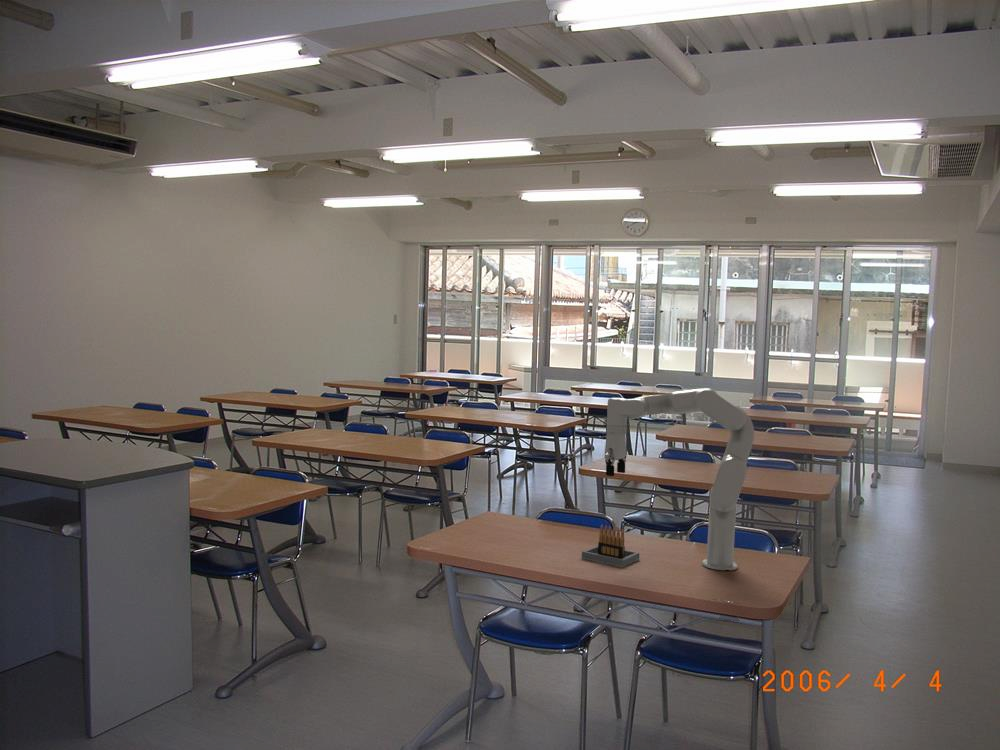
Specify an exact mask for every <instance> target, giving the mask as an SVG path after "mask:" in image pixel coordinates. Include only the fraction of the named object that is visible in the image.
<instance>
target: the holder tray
mask: <svg viewBox="0 0 1000 750" xmlns="http://www.w3.org/2000/svg"><path fill="white" fill-rule="evenodd" d="M597 553H598V545H595V546H593V547H590V548H587V549H585V550H583V551H581V559H582V558H583V560H586V559H587V561H591V560H592V561H591V562H595V561H596V563H600V562H601V563H600V564H605V563H606V565H609V564H611V565H610V566H614V565H615V566H614V567H618V566H620V567H619V568H624V567H626V565H627V566H629V565H631V564H633V563H636V562H637V561H640V552H638V551H632V550H627V549H625V558H623V559H619V558H614V557H609V556H605V555H600V554H597ZM630 563H631V564H630ZM628 564H629V565H628Z"/></svg>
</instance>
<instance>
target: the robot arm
mask: <svg viewBox="0 0 1000 750" xmlns="http://www.w3.org/2000/svg"><path fill="white" fill-rule="evenodd" d="M606 412H607V413H606V414H607V416H606V417H607V418H606V437H605V445H604V462H605V476H608V477H614V476H615V465H614V464H615V461H617V463H616V472H617V473H622V474H625V473H626V462H627V460H626V459H627V453H628V450H627V437H626V435H627V434H628V433H627V431H628V429H627V428H628V427H627V426H628V425H627V423H628V418H631V419H640V418H643V417H644V416H645V417H646V416H653V415H661V414H663V415H665V414H668V415H673V416H674V415H683V414H690V413H691V414H692V413H701V412H702V413H703V414H704V415H705V416H707V417H708V418H709V419H711V420H713V421H714V422H716V423H717V424H718V425H720V426H721V427H723V428H724V429H726V430H728V431H729V438H728V440H727V444H726V448H725V451H724V453H723V456H722V458H721V460H720V463H719V465H718V469H717V473H716V477H715V480H714V483H713V485H712V486H711V488H710V490H709V512H708V529H707V548H706V558H705V559H703V560H702V562H701V563H702V564H701V565H702V566H704V567H705V568H709V569H710V570H715V571H723V572H725V570H729V571H735V570H737V569H738V564H737V563H736V562H735V561H734V556H735V552H734V551H735V537H736V536H735V535H736V534H735V531H736V520H737V517H736V515H737V503H738V499H739V497H740V495H741V491H742V489H743V485H744V481H745V479H746V475H747V464H748V460H749V457H750V454H751V450H752V446H753V443H754V439H755V438H754V437H755V429H754V424H753V421H752V419H751V418H750V416H749V415H748V413H747V412H746V411H745V410H744V409H742V408H741V407H740V406H738V405H734V404H732V403H731V402H729V401H728V400H726V399H725V398H724V397H722V396H720V395H719V394H718V393H717V392H716V390H715V389H713V388H710V387H701V388H695V389H688V390H678V391H670V392H667V393H661V394H653V395H645V396H638V397H634V398H624V397H610V398H608V400H607V411H606Z"/></svg>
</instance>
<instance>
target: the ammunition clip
mask: <svg viewBox="0 0 1000 750" xmlns="http://www.w3.org/2000/svg"><path fill="white" fill-rule="evenodd" d="M599 530H600V531H599V535H598V537H599V539H598V553H597V554H600V555H605V556H609V557H614V558H619V559H623V558H625V550H626V547H625V529H624V528H623V527H622V528H621V530H620V527H619V526H618V527H617V529H616V527H615V526H613V528H612V527H611V525H609V527H608V525H607V524H605V525H603V523H602V524H601V525H600V527H599Z"/></svg>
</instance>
